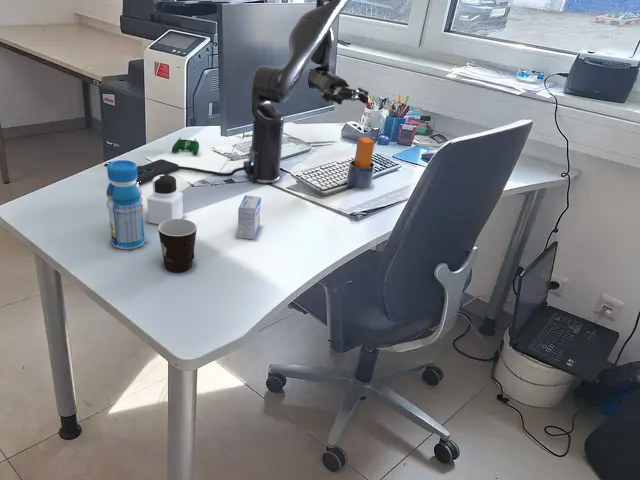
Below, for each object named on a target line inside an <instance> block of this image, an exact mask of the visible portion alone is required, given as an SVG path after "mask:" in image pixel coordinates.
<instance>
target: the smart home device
mask: <svg viewBox="0 0 640 480" xmlns="http://www.w3.org/2000/svg"><path fill="white" fill-rule="evenodd" d="M139 166H140V167H138V168H137V173H138V177H137V180H136V181H137V182H139V183H138V184H139V186H142V185H143V184H146V183H149V182H151V181H152V182H153V178H154V177H156V176H159V175H170V174H172V173H174V172H177V171H179V169H178V166H179V164H178V163H175V162H172V161H169V160H166V159H163V158H160V159H156V160H155V161H151V162H149V163H146V164H143V165H139ZM140 181H141V182H140Z"/></svg>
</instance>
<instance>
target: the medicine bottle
mask: <svg viewBox="0 0 640 480" xmlns="http://www.w3.org/2000/svg"><path fill="white" fill-rule="evenodd" d="M183 195H184V194H183V192H181V191H177V179H176V177H175V176H174V175H171V174H167V175H159V176H156V177H154V178H153V180H152V193H151V194H150V195H149V196H148V197H147V198H146V206H147V221H148V223H150V224H153V225H154V224H155V225H159V224H160V223H161V222H163V221H166V220H169V219H183V217H184V196H183Z"/></svg>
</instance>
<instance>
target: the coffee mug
mask: <svg viewBox="0 0 640 480" xmlns="http://www.w3.org/2000/svg"><path fill="white" fill-rule="evenodd" d="M197 229H198V226H197V224H196V223H195V222H194V221H191V220H189V219H186V218H181V219H169V220H166V221H163V222H161V223H160V224H158V225H157V231H158V235H159V236H158V237H159V242H160V247H161V254H162V259H163V265H164V269H165V270H166V271H168V272H171V273H174V274H183V273H186V272H188V271H190V270H191V269H192V267H193V261H194V259H195V246H196V238H197Z"/></svg>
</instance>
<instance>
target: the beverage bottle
mask: <svg viewBox="0 0 640 480" xmlns="http://www.w3.org/2000/svg"><path fill="white" fill-rule="evenodd" d="M110 162H111V163H109V164H108V165H107V166H106V170H107V171H106V173H107V179H108V180H109V181H110V182H109V183H108V184H107V187H106V192H105V193H106V197H107V199H106V208H107V210H108V219H109V226H110V242H111V245H112V246H113V247H115V248H117V249H119V250H133V249H137V248H140V247H142V246H143V245H144V244H145V242H146V239H145V229H144V212H143V211H144V210H143V209H144V208H143V207H144V199H143V198H142V197H141V196H142V194H143V191H142V187H141V185H139V184H138V183H137V181H136V180H137V177H138V173H137V166H138V165H137V163H136V162H134V161H132V160H126V159H120V160H119V159H117V160H113V161H110ZM112 242H113V243H114V244H113V243H112ZM117 245H118V246H117ZM121 246H122V247H121Z"/></svg>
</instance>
